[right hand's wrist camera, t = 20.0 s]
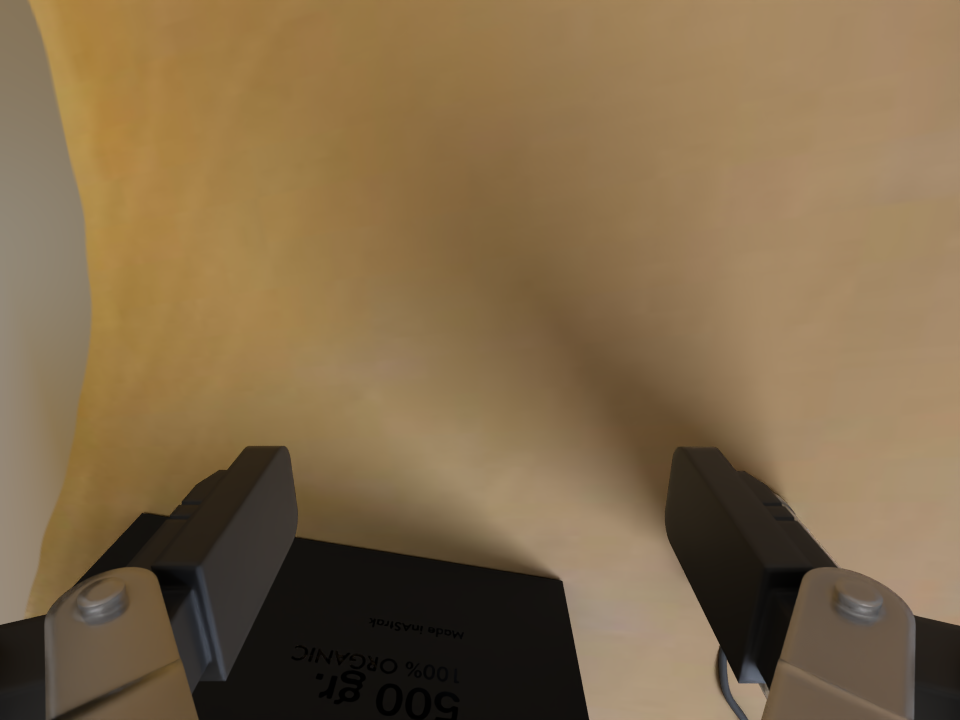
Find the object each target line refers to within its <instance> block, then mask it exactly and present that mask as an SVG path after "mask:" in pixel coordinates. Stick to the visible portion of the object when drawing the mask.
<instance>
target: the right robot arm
mask: <svg viewBox="0 0 960 720" xmlns="http://www.w3.org/2000/svg"><path fill="white" fill-rule="evenodd" d="M297 522H298V509H297V502H296V495H295V487H294V480H293V473H292V466H291V459H290V454H289V451H288V449H287V448H286V447H285V446H247V447H246V448H245V449H244V450H243V451H242V452H241V454H240V455H239V456H238V457H237V459H236V460H235V461H234V462H233V464H232V465H231V466H230V467H229V469H228V470H219V471H217V472H215V473H214V474H212V475H211V476H209V477H208V478H206V479H204V480H203V481H201V482H200V483H198V484H197V485H196V486H195V487H194V488H193V489H192V490H191V492H190V493H189V494H188V495H187V496H186V497H185V498H184V500H183V501H182V505H178V507H177V508H176V509H175V510H174V511H173V512H172V514H171V515H170V518H169V520H166V521H165V522H164V523H163V524H162V525H161V526H160V528H159V529H158V530H157V531H156V532H155V533H154V535H153V536H152V537H151V538H150V539H149V540H148V542H147V543H146V544H145V545H144V546H143V547H142V549H141V550H140V551H139V552H138V553H137V554H136V556H135V557H134V558H133V559H132V560H131V561H130V562H129V564H128V565H127V566H126V567H125V568H118V569H113V570H109V571H106V572H103V573H100V574H97V575H95V576H93V577H90V578H88V579H86V580H84V581H82V582H80V583H79V584H77V585H75V586H74V587H72V588H71V589H70V590H68V591H67V592H65V593H64V594H63V595H62V596H61V597H60V598H59V599H58V600H57V601H56V602H55V603H54V604H53V605H52V607H51V608H50V610H49V611H48V613H47V614H46V615H42V616H38V617H33V618H29V619H24V620H20V621H16V622H11V623H7V624H2V625H0V720H199V719H198V716H197V712H196V709H195V705H194V702H193V698H192V693H193V691H194V689H195V687H196V685H197V684H198V682H199V681H226V679H227V677H228V675H229V673H230V671H231V669H232V667H233V665H234V662H235V660H236V658H237V656H238V654H239V652H240V650H241V648H242V646H243V644H244V642H245V640H246V638H247V636H248V633H249V631H250V629H251V627H252V625H253V623H254V621H255V619H256V617H257V615H258V613H259V611H260V609H261V607H262V605H263V602H264V600H265V598H266V596H267V594H268V592H269V590H270V588H271V586H272V584H273V582H274V580H275V578H276V576H277V574H278V571H279V569H280V567H281V565H282V563H283V561H284V559H285V557H286V555H287V553H288V551H289V549H290V547H291V545H292V542H293V540H294V537H295V534H296V529H297ZM665 525H666V531H667V536H668V539H669V542H670V544H671V546H672V548H673V550H674V552H675V554H676V556H677V558H678V560H679V562H680V564H681V566H682V568H683V570H684V573H685V575H686V577H687V579H688V581H689V583H690V585H691V587H692V589H693V591H694V593H695V595H696V597H697V599H698V601H699V603H700V605H701V607H702V609H703V611H704V613H705V615H706V617H707V620H708V622H709V624H710V626H711V628H712V630H713V632H714V634H715V636H716V638H717V640H718V642H719V644H720V650H719V676H720V684H721V688H722V692H723V694H724V696H725V699H726V700H727V702H728V704H729V705H730V707H731V708H732V710H733V711H734V712H735V714H736V715H737V716H738V718H739V719H740V720H748V719H747V717H746V716H745V714H744V713H743V711H742V710H741V709H740V707H739V706H738V705H737V703H736V702H735V700H734V699H733V697H732V695H731V692H730V689H729V685H728V677H727V660H728V662H729V664H730V666H731V669H732V671H733V673H734V675H735V677H736V679H737V681H738V683H758V684H759V685H760V687H761V689H762V691H763V693H764V695H765V697H766V699H767V702H766V705H765V709H764V712H763V716H762V719H761V720H960V626H958V625H954V624H949V623H945V622H941V621H936V620H932V619H927V618H923V617H919V616H915V615H913V613H912V611H911V610H910V608H909V607H908V605H907V604H906V603H905V602H904V601H903V600H902V599H901V598H900V597H899V596H898V595H897V594H896V593H895V592H893V591H892V590H890V589H889V588H888V587H886V586H885V585H883V584H881V583H880V582H878V581H876V580H874V579H872V578H870V577H867V576H865V575H863V574H860V573H857V572H854V571H851V570H846V569H842V568H841V567H840V566H839V565H838V564H837V562H836V561H835V560H834V559H833V558H832V557H831V556H830V554H829V553H828V552H827V551H826V550H825V549H824V548H823V546H822V545H821V544H820V543H819V542H818V541H817V540H816V538H815V537H814V536H813V535H812V534H811V533H810V531H809V530H808V529H807V528H806V527H805V526H804V524H803V523H802V522H801V521H800V520H799V519H798V518H797V517H796V515H795V513H794V512H793V510H792V509H791V508H790V507H789V505H788V504H787V503H786V502H785V501H784V500H783V499H782V498H781V497H780V496H778V495H777V494H775V493H773V492H772V491H771V490H770V488H769V487H768V486H767V485H765V484H764V483H762V482H760V481H759V480H757V479H756V478H754V477H753V476H751V475H749V474H748V473H746V472H745V471H736V470H735V469H734V468H733V467H732V465H731V464H730V463H729V462H728V460H727V459H726V458H725V457H724V455H723V454H722V453H721V452H720V450H719V449H718V448H716V447H678V448H676V450H675V452H674V455H673V459H672V466H671V473H670V480H669V487H668V494H667V501H666V508H665Z"/></svg>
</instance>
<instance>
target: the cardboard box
mask: <svg viewBox="0 0 960 720" xmlns="http://www.w3.org/2000/svg"><path fill="white" fill-rule="evenodd" d="M166 520H169V517H163V516H157V515H151V514H145V513H142V514H141V515H140V516H139V517H138V518H137V519H136V520H135V521H134V522H133V524H132V525H131V526H130V527H129V528H128V529H127V530H126V531H125V532H124V533H123V534H122V535H121V536H120V537H119V538H118V539H117V541H116V542H115V543H114V544H113V545H112V546H111V547H110V548H109V549H108V550H107V551H106V552H105V553H104V554H103V555H102V556H101V558H100V559H99V560H98V561H97V562H96V563H95V564H94V565H93V566H92V567H91V568H90V569H89V570H88V571H87V572H86V573H85V575H84V576H83V577H82V578H81V579H80V580H79V581H78V582H77V583H76V584H75V585H77V584H79V583H80V582H82V581H84V580H86V579H88V578H90V577H93V576H95V575H97V574H100V573H103V572H106V571H109V570H113V569H118V568H125V567H126V566H127V565H128V564H129V562H130V561H131V560H132V559H133V558H134V557H135V556H136V554H137V553H138V552H139V551H140V550H141V549H142V547H143V546H144V545H145V544H146V543H147V542H148V540H149V539H150V538H151V537H152V536H153V535H154V533H155V532H156V531H157V530H158V529H159V528H160V526H161V525H162V524H163V523H164V522H165V521H166ZM75 585H74V586H75ZM74 586H73V587H74ZM298 645H302V646H305V650H304V649H303V648H296V646H298ZM319 649H321V651H322V652H323V653H324V654H325V656H326V657H327V658H326V660H325V659H324V658H323V657H322V655H320V657H319V660H318V662H316V661H315V659H316V656H318V652H319ZM335 651H338V654H339V655H344V656H343V660H344V661H343V662H342V663H341V664H340V665H339V664H338V662H337V658H336V654H335ZM304 654H306V655H307V656H306V657H305V658H304V659H300V658H301V657H303V656H304ZM353 654H361V655H363V656H364V657H365V659H366V660H365V659H364V658H361V657H359V656H355V657H353V659H356V661H351V657H352V655H353ZM310 655H311V656H313V658H312V661H309V660H308V659H309V656H310ZM368 656H371V658H372V659H373V661H374V662H375V663H376V665H377V668H376V670H374V669H373V667H374V665H370V668H372V669H370V668H369V666H368V664H369V663H370V662H371V661H370V659H369V658H368ZM330 658H331V661H330V663H329V660H330ZM339 659H340V661H341V659H342V658H341V657H340V658H339ZM351 664H352V665H353V666H355V667H353V666H350V665H351ZM358 666H359V667H358ZM192 698H193V702H194V705H195V709H196V712H197V716H198V719H199V720H589V716H588V711H587V706H586V701H585V696H584V691H583V685H582V680H581V675H580V670H579V665H578V659H577V654H576V649H575V644H574V639H573V634H572V628H571V623H570V618H569V613H568V608H567V602H566V597H565V592H564V587H563V582H562V581H559V580H553V579H547V578H541V577H534V576H528V575H522V574H516V573H510V572H503V571H497V570H491V569H485V568H479V567H473V566H466V565H460V564H454V563H448V562H442V561H435V560H429V559H423V558H417V557H411V556H405V555H398V554H392V553H386V552H380V551H374V550H367V549H361V548H355V547H349V546H343V545H336V544H330V543H324V542H318V541H312V540H306V539H299V538H294V540H293V542H292V545H291V547H290V549H289V551H288V553H287V555H286V557H285V559H284V561H283V563H282V565H281V567H280V569H279V571H278V574H277V576H276V578H275V580H274V582H273V584H272V586H271V588H270V590H269V592H268V594H267V596H266V598H265V600H264V602H263V605H262V607H261V609H260V611H259V613H258V615H257V617H256V619H255V621H254V623H253V625H252V627H251V629H250V631H249V633H248V636H247V638H246V640H245V642H244V644H243V646H242V648H241V650H240V652H239V654H238V656H237V658H236V660H235V662H234V665H233V667H232V669H231V671H230V673H229V675H228V677H227V679H226V681H199V682H198V684H197V685H196V687H195V689H194V691H193V693H192Z"/></svg>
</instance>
